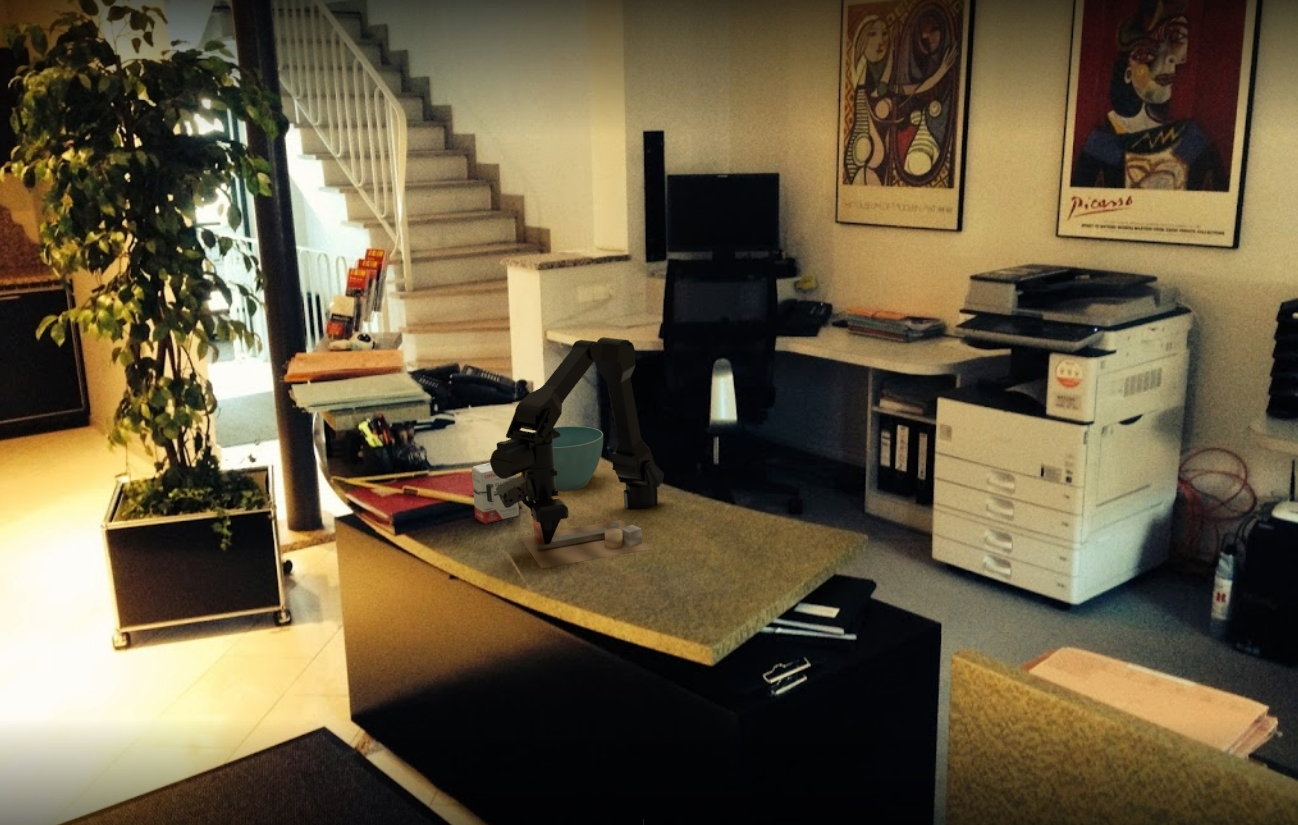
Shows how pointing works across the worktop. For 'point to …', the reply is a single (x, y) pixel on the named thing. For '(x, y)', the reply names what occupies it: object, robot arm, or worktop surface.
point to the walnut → (613, 538)
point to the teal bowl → (576, 456)
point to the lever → (565, 537)
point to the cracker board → (586, 545)
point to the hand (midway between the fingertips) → (543, 539)
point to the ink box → (489, 495)
